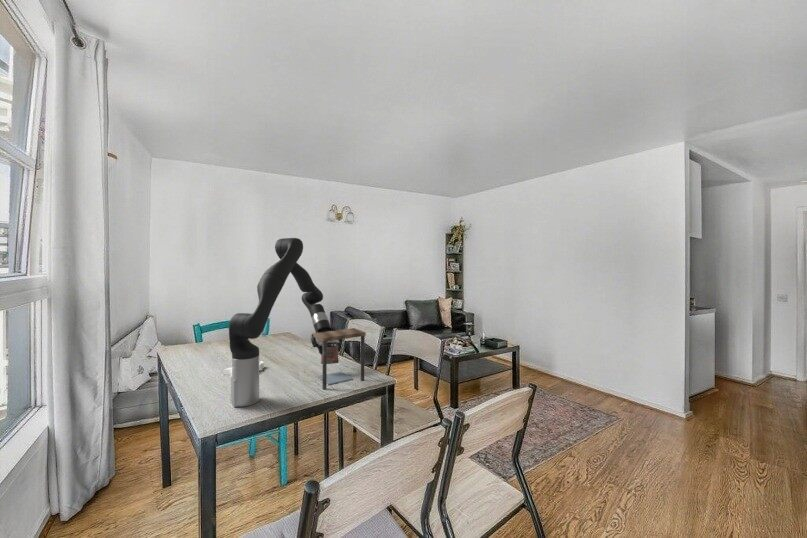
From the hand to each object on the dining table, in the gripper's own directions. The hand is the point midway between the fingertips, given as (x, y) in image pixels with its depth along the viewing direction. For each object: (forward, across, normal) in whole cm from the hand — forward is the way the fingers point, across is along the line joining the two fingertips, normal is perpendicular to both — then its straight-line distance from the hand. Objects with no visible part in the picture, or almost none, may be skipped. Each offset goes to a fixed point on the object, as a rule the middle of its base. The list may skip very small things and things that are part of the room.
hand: (331, 352), depth 155 cm
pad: (+11, 0, +5) cm, 12 cm away
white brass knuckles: (-12, -31, +28) cm, 43 cm away
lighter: (+3, 0, +5) cm, 6 cm away
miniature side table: (+14, 0, +2) cm, 14 cm away
